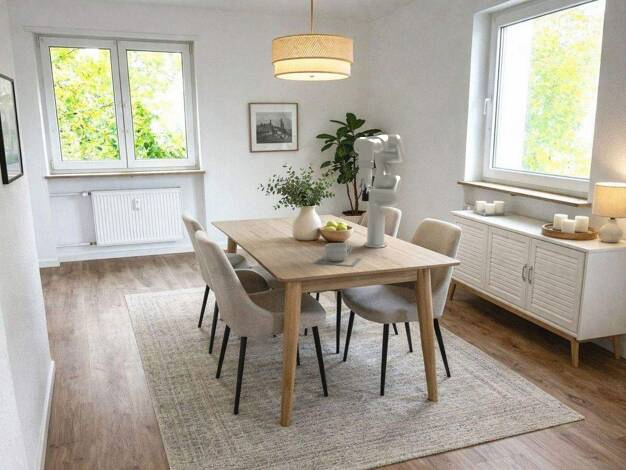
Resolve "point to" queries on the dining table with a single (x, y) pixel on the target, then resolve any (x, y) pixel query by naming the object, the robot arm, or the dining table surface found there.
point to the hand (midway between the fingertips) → (365, 201)
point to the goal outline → (337, 264)
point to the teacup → (337, 251)
